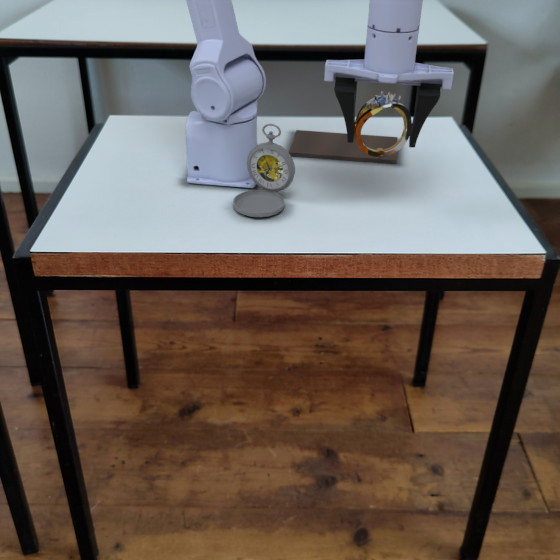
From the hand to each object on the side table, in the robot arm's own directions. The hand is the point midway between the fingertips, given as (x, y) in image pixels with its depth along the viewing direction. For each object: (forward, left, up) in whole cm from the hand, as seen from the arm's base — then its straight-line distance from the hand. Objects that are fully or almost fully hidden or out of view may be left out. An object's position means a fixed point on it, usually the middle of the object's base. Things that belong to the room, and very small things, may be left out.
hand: (380, 141), depth 84 cm
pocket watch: (-14, -1, -10) cm, 17 cm away
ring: (0, 0, -2) cm, 2 cm away
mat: (-5, +19, -9) cm, 22 cm away
